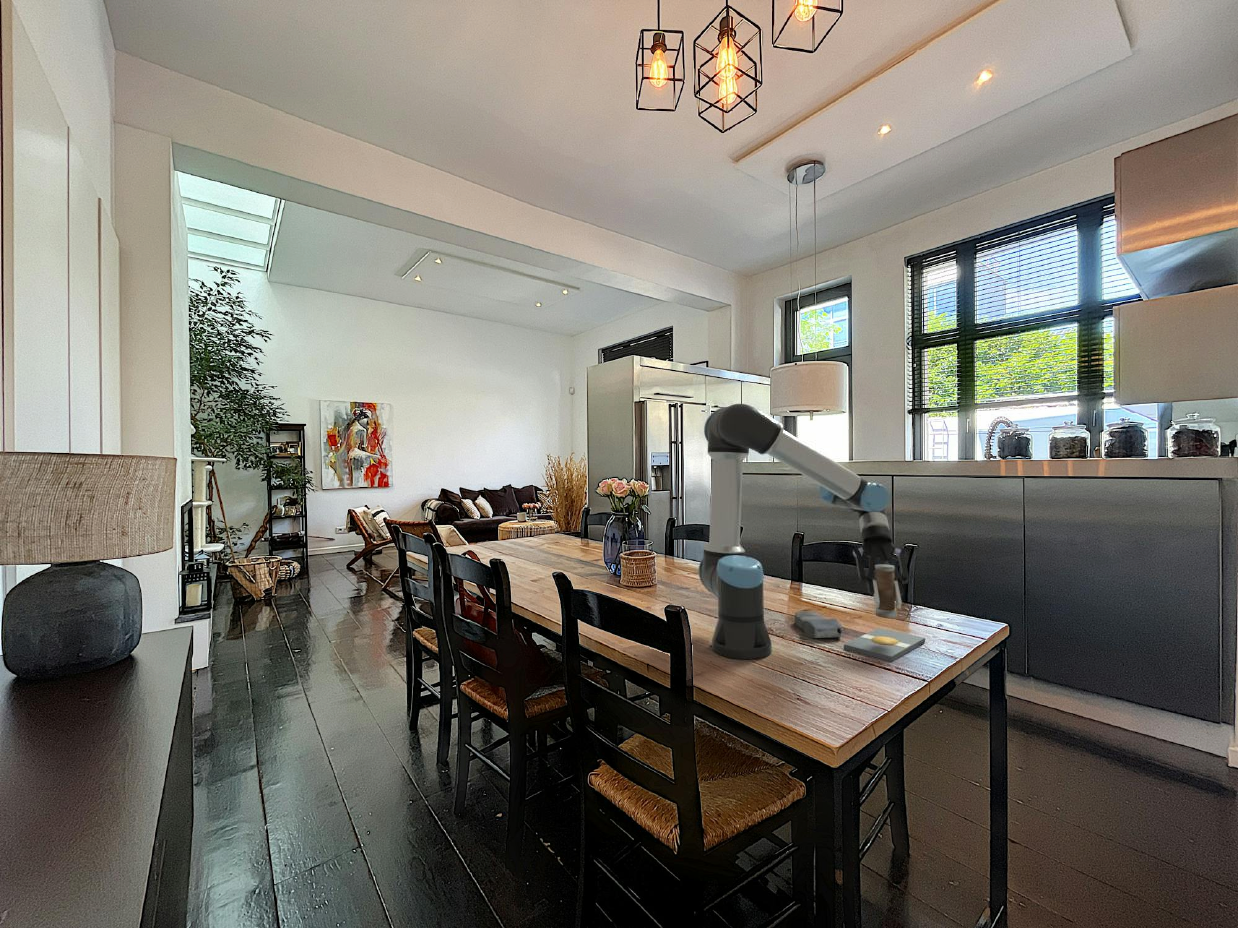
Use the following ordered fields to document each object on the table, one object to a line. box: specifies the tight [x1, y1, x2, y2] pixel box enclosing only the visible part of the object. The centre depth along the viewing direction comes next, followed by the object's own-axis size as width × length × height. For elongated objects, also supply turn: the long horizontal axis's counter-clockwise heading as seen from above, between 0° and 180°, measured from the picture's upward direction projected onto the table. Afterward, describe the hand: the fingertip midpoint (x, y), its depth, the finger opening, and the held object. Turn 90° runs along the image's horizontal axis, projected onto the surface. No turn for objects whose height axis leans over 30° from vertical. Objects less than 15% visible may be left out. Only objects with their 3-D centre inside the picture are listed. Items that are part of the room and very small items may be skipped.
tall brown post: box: [874, 563, 897, 619], centre depth 140 cm, size 5×5×13 cm
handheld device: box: [794, 610, 843, 639], centre depth 155 cm, size 10×20×5 cm, turn 4°
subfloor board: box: [843, 627, 926, 662], centre depth 140 cm, size 20×12×1 cm, turn 130°
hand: (888, 605), depth 136 cm, fingers closed on tall brown post, 4 cm apart
